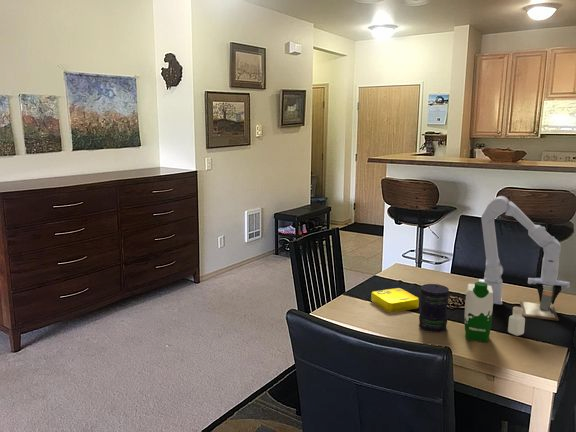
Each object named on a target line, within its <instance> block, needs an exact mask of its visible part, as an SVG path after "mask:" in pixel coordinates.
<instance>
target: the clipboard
mask: <svg viewBox="0 0 576 432" xmlns="http://www.w3.org/2000/svg"><path fill="white" fill-rule="evenodd" d="M519 304H520V307H521V308H523V314H522V317H524V318H525V317H526V318H532V319H533V318H534V319H540V320H550V321H557V322H558V321H560V319H559V317H558V315H557V311H556V308H555V307H554V306H553V305H554V304H551V306H550V310H548V311H546V310H543V309H540V302H532V301H524V300H519Z"/></svg>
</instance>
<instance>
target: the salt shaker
mask: <svg viewBox="0 0 576 432" xmlns="http://www.w3.org/2000/svg"><path fill="white" fill-rule="evenodd" d="M525 323H526V318H525V317H524V316H523V308H521V306H513V307H512V315H510V316H509V317H508V325H507V326H508V327H507V333H509V334H511V335H514V336H517V337H518V336H522V335H524V333H525V327H526V326H525V325H526V324H525Z"/></svg>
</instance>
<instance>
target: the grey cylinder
mask: <svg viewBox="0 0 576 432" xmlns="http://www.w3.org/2000/svg"><path fill="white" fill-rule="evenodd" d="M552 297H553V292H552V291H549V290H543V293H542V298H541V303H540V302H539V303H540V309H543V310H546V311H548V310H550V306H551V305H552V303H551V301H552Z"/></svg>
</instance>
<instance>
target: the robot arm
mask: <svg viewBox="0 0 576 432" xmlns="http://www.w3.org/2000/svg"><path fill="white" fill-rule="evenodd" d="M504 213H505V214H504ZM502 214H504V215H505V216H508V217H509V216H510V217H513V218H514V219H515V220H517V222H519V224H520V225H522V226H523V227H524V228H525V229H526V230H527V231H528V234H527V236H529V237H530V238H531V239H532V240H533V241H534V242H535V243H536V244H537V245H538V246H539V247H540V248H542V250H543V257H542V263H541V274H540V277H528V278H527V284H528V285H532V284H533V285H535V286H536V289H537V292H538V299H539V300H538V301H539V303H541V298H542V293H543V291H544V288H545V287H544V286H551V287H552V289H551V290H552V291H551V292H553V297H552V301H551V305H554V304H555V301H556V299H557V297H558V296H559V294H560V292H562V288H565V289H566V288H567V289H571V288H570V287H571V283H570V281H565V280H559V279H558V275H559V267H560V254H561V251H562V249H561V248H562V246H561V243H560V241H559V240H558V238H557V239H556V238H555V236H552V235H551V234H550V233H549V232H547V230H546V229H547V228H546V227H545V226H542V225H541V224H535V223H534V222H533V221H532V220H531V219H530V218H529V217H528V216H527V215H526V214H525V212H523V211H522V210H521V209H520V208H519V207H518V206H517V204H515V203H514V202H512V200H509V198H507V196H504V195H499V196H498V195H497V197H495V198H494V199H492V201H490V203H488V204H487V207H485V210H484V211H483V213H482V215H481V217H480V219H481V228H482V236H483V243H484V253H485V270H484V273H483V274H484V277H483V278H479V279H478V282H482V283H486V284H487V285H488V286H491V287H492V290H493V305H494V304H495V305H500V306H501V305H503V299H502V290H503V281H504V280H503V279H502V275H503V273H504V268H503V266H502V264H501V261H500V258H499V251H498V241H497V234H496V224H495V220H496V219H497V218H498V217H499V216H501V215H502Z"/></svg>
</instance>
